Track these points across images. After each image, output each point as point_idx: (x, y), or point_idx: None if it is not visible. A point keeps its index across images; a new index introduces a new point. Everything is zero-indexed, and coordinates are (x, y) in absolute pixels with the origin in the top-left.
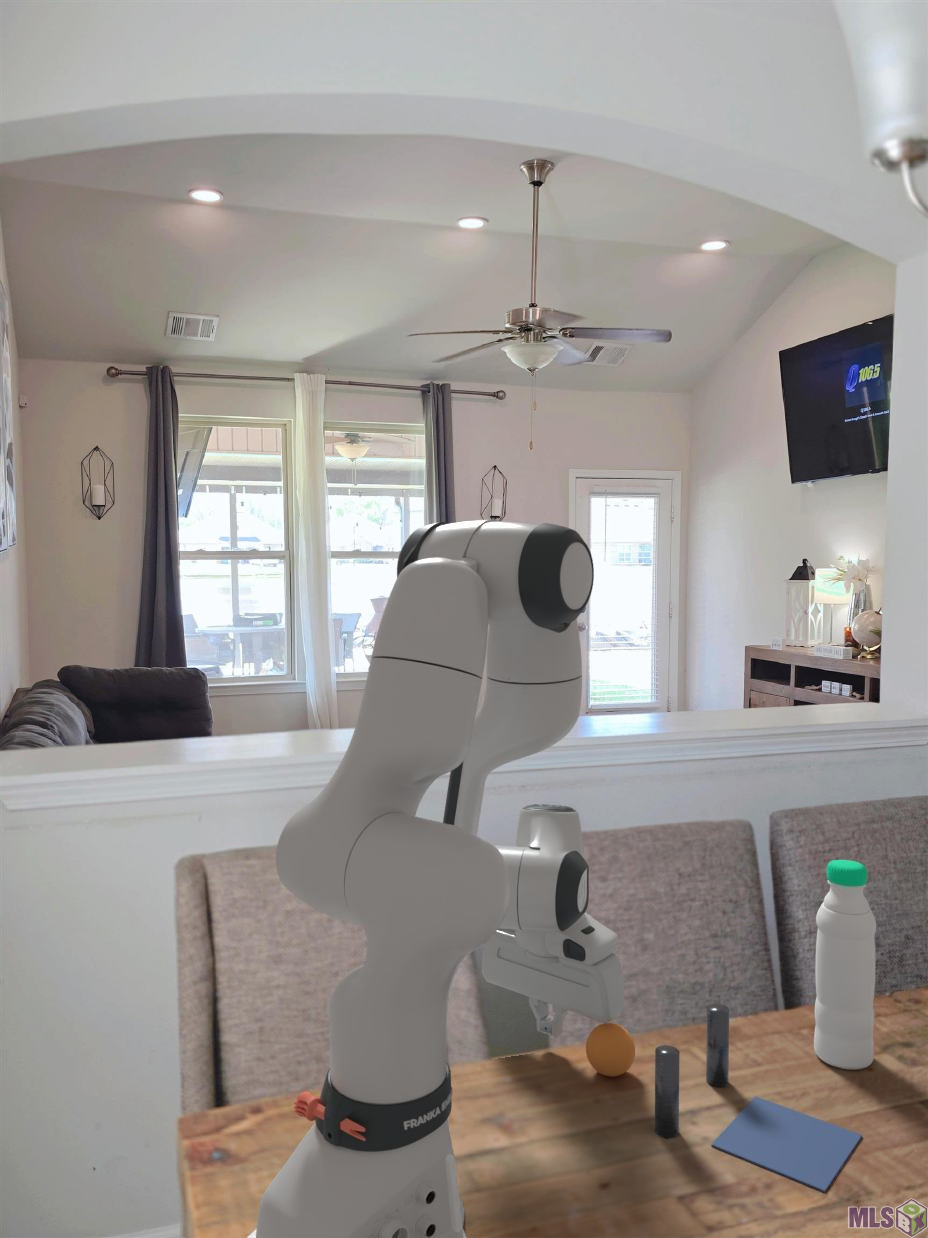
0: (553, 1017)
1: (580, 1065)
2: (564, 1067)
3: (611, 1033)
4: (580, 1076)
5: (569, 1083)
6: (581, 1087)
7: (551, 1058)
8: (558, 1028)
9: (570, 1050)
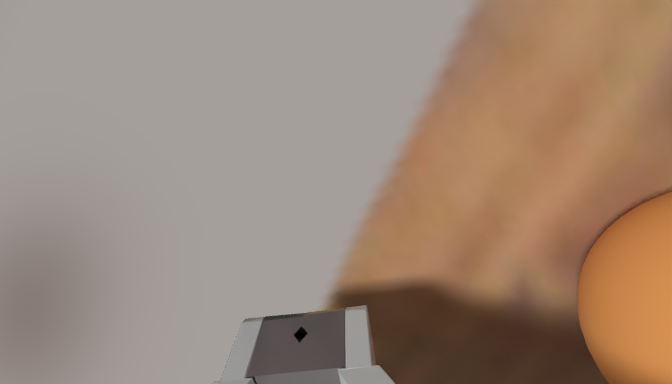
0: (303, 379)
1: (496, 279)
2: (454, 325)
3: None
4: (538, 327)
5: (528, 374)
6: (577, 366)
7: (375, 315)
8: (374, 365)
9: (389, 226)
